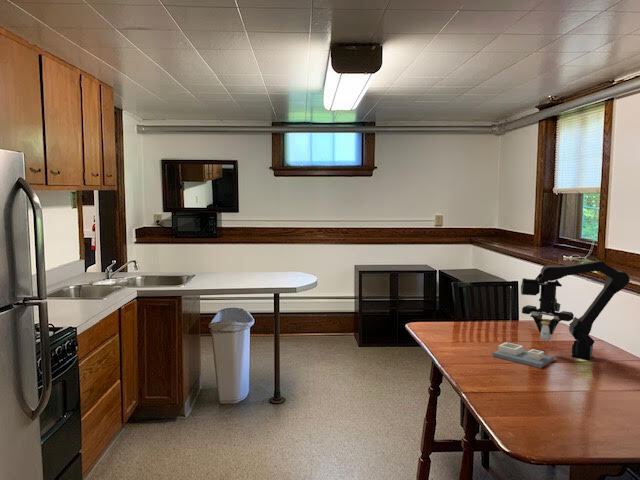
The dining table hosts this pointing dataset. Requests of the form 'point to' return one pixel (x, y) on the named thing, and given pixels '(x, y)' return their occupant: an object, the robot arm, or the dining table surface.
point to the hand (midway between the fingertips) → (546, 333)
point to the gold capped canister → (545, 329)
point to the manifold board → (522, 355)
